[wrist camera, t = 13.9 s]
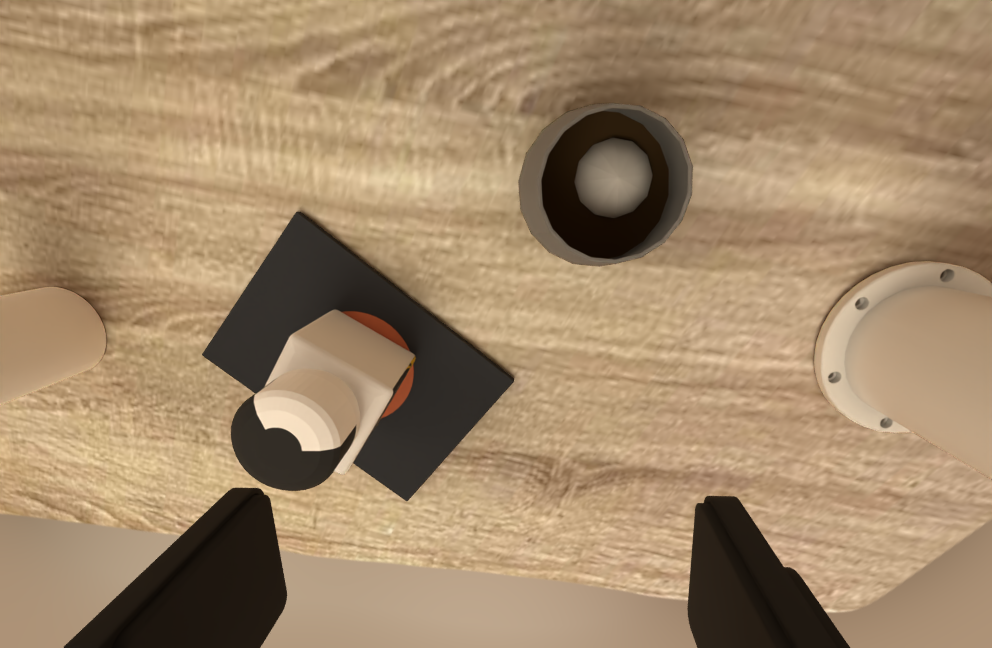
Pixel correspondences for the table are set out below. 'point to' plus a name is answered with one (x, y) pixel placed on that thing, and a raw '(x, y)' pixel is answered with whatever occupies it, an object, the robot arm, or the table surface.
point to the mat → (384, 309)
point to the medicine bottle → (318, 403)
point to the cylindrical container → (46, 339)
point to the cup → (605, 184)
